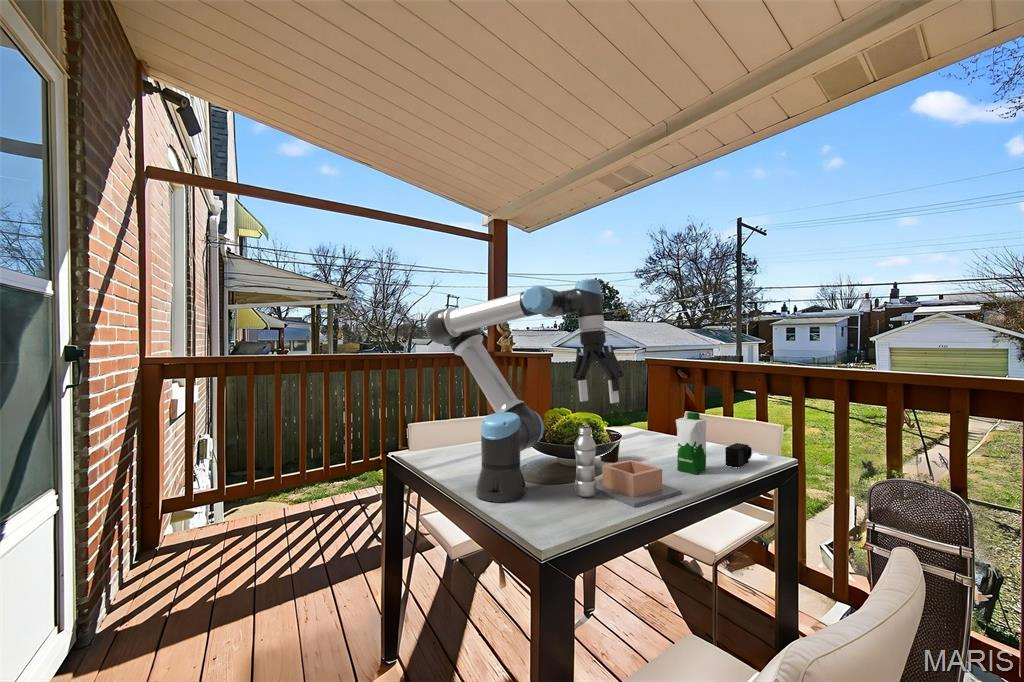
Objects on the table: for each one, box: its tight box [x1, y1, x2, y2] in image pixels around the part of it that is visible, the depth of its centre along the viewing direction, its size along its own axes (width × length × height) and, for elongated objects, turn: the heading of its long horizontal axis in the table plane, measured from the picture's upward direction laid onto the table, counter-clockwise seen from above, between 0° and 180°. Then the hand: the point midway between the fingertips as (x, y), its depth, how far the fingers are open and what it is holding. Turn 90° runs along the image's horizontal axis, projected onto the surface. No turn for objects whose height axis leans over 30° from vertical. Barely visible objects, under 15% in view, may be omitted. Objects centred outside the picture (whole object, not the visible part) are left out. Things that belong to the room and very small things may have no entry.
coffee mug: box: [599, 431, 621, 464], centre depth 165 cm, size 12×9×10 cm
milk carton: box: [675, 411, 707, 475], centre depth 150 cm, size 9×9×20 cm
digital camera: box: [725, 442, 753, 469], centre depth 157 cm, size 10×5×7 cm, turn 132°
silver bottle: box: [573, 426, 597, 498], centre depth 126 cm, size 6×7×20 cm
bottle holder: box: [596, 459, 682, 508], centre depth 130 cm, size 20×20×7 cm
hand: (598, 401), depth 127 cm, fingers open, 13 cm apart
